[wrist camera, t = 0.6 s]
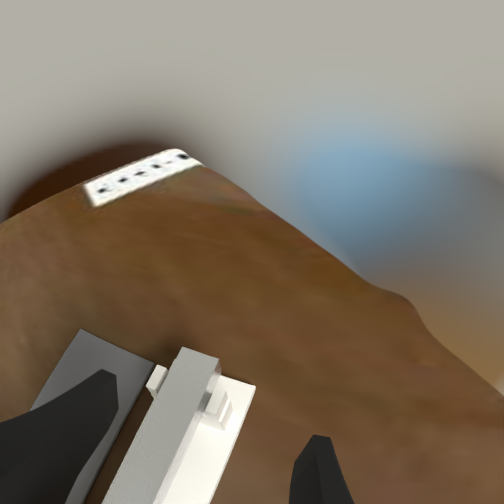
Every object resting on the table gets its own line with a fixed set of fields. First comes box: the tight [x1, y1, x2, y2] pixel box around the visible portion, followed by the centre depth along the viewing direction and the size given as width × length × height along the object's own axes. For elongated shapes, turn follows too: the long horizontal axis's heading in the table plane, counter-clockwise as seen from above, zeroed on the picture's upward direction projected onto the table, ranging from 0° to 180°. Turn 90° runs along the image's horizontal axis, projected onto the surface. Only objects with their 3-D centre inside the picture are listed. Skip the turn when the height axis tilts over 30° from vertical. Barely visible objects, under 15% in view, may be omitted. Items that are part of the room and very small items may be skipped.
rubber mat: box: [29, 329, 155, 504], centre depth 21 cm, size 26×10×1 cm, turn 161°
